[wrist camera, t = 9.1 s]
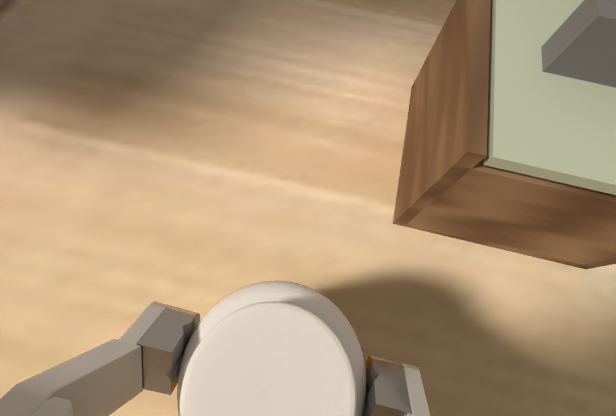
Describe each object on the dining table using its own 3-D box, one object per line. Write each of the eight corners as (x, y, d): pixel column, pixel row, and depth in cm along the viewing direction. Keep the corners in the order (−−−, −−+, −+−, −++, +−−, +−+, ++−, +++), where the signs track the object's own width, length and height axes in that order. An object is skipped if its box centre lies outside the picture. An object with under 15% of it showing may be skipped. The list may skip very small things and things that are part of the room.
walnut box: (392, 223, 19) (467, 151, 11) (412, 86, 23) (477, -40, 15) (585, 269, 19) (804, 229, 11) (572, 122, 23) (727, 12, 15)
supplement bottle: (287, 441, 15) (284, 648, 5) (204, 363, 16) (78, 422, 6) (353, 342, 17) (438, 369, 7) (274, 277, 18) (257, 223, 8)
